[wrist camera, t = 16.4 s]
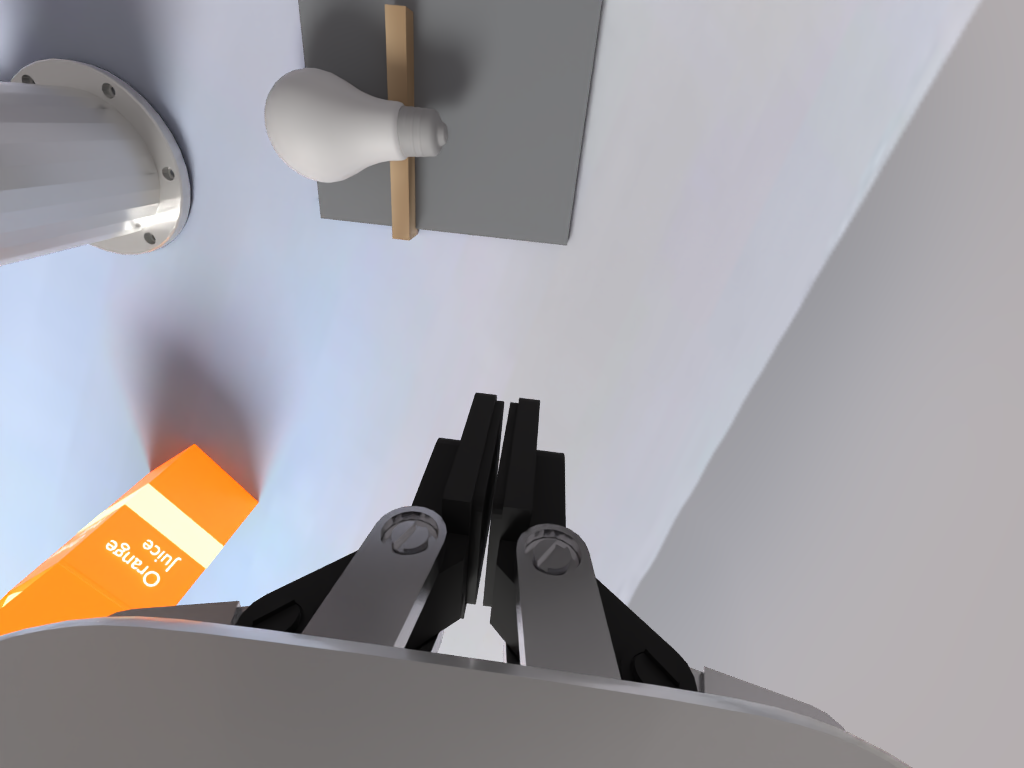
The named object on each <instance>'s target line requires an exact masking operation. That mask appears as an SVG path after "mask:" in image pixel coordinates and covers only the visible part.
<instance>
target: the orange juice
mask: <svg viewBox="0 0 1024 768" xmlns="http://www.w3.org/2000/svg"><path fill="white" fill-rule="evenodd" d="M257 504H258V501H257V500H256V499H255V498H253V497H252V496H251V495H250V494H249V493H248V492H247V491H246V490H245V489H244V488H242V487H241V486H240V485H239V484H238V483H237V482H236V481H235V480H234V479H233V478H232V477H230V476H229V475H228V474H227V473H226V472H225V471H224V470H223V469H222V468H221V467H219V466H218V465H217V464H216V463H215V462H214V461H213V460H212V459H211V458H210V457H208V456H207V455H206V454H205V453H204V452H203V451H202V450H201V449H200V448H199V447H197V446H196V445H195V444H193V445H192V446H190V447H189V448H187V449H186V450H184V451H182V452H181V453H179V454H178V455H176V456H175V457H173V458H172V459H170V460H169V461H167V462H165V463H164V464H162V465H161V466H159V467H158V468H156V469H155V470H153V471H151V472H150V473H149V474H148V475H146V476H145V477H144V478H143V479H142V480H141V481H139V482H138V483H137V484H136V485H135V486H133V487H132V488H131V489H130V490H129V491H128V492H126V493H125V494H124V495H123V496H122V497H120V498H119V499H118V500H117V501H116V502H115V503H113V504H112V505H111V506H110V507H109V508H107V509H106V510H105V511H104V512H102V513H101V514H100V515H98V516H97V517H96V518H95V519H94V520H92V521H91V522H90V523H89V524H88V525H86V526H85V527H84V528H83V529H82V530H81V531H79V532H78V533H77V535H75V536H74V537H73V538H72V539H71V540H70V541H68V542H67V543H66V544H65V545H64V546H62V547H61V548H60V549H59V550H58V551H57V552H55V553H54V554H53V555H52V556H51V557H49V558H48V559H47V560H46V561H45V562H44V563H42V564H41V565H40V566H39V567H38V568H36V569H35V570H34V571H33V572H32V573H31V574H29V575H28V576H27V577H26V578H25V579H23V580H22V581H21V582H20V583H19V584H17V585H16V586H15V587H14V588H13V589H12V590H10V591H9V592H8V594H7V595H5V596H4V597H3V598H2V599H1V600H0V636H1V635H4V634H8V633H12V632H15V631H19V630H22V629H26V628H31V627H36V626H41V625H46V624H51V623H56V622H61V621H66V620H75V619H86V618H96V617H107V616H109V615H111V614H114V613H116V612H120V611H125V610H129V609H137V608H151V607H165V606H176V605H177V604H178V602H179V601H180V600H181V599H182V597H183V596H184V595H185V594H186V592H187V591H188V590H189V589H190V587H191V586H192V585H193V584H194V582H195V581H196V580H197V579H198V577H199V576H200V575H201V574H202V572H203V571H204V570H205V569H206V568H207V567H208V566H209V565H210V563H211V562H212V561H213V560H214V558H215V557H216V556H217V555H218V553H219V552H220V551H221V549H222V548H223V547H224V545H225V544H226V542H227V541H228V540H229V539H230V537H231V536H232V535H233V534H234V532H235V531H236V530H237V529H238V527H239V526H240V525H241V524H242V522H243V521H244V520H245V519H246V517H247V516H248V515H249V514H250V512H251V511H252V510H253V509H254V507H255V506H256V505H257Z"/></svg>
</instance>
